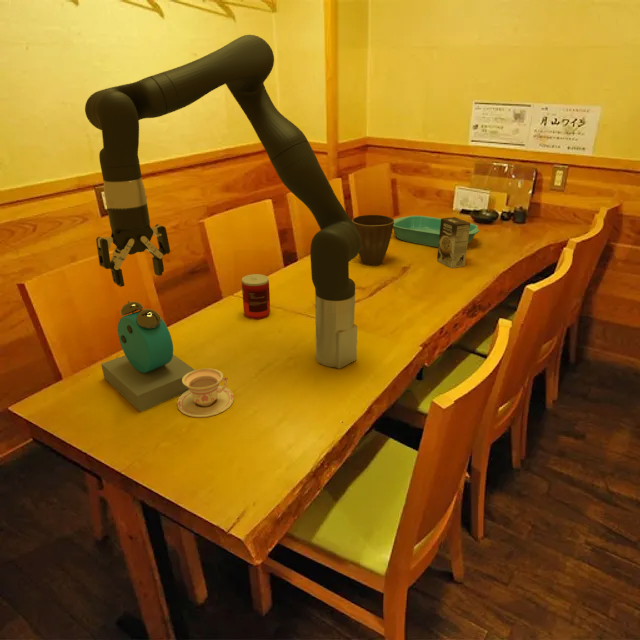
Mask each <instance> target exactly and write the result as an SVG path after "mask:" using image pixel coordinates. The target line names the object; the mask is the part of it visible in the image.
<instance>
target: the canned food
mask: <svg viewBox="0 0 640 640" xmlns="http://www.w3.org/2000/svg"><path fill="white" fill-rule="evenodd" d="M241 293H242V302H243V304H242V305H243V314H244V316H245V317H246V318H248V319H252V320H261V319H265V318H267V317H269V316H270V314H271V296H270V294H271V293H270V280H269V276H267V275H265V274H260V273H256V274H255V273H252V274H247V275H244V276H243V277H242V278H241Z"/></svg>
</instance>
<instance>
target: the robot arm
mask: <svg viewBox="0 0 640 640" xmlns="http://www.w3.org/2000/svg"><path fill="white" fill-rule="evenodd" d="M274 55H275V54H274V51H273V49H272V47H271V45H270V44H269V43H268V42H267V41H266V40H265V39H263V38H262V37H260V36H257V35H255V34H245V35H242V36H239V37H237V38H236V39H234V40H232V41H230V42H228V43H227V44H226V45H224V46H222V47H221V48H218V49H217V50H215V51H213V52H210V53H208V54H207V55H204V56H203V57H200V58H197V59H196V60H193V61H191V62H188V63H184V64H183V65H181V66H178V67H175V68H171V69H168V70H165V71H162V72H159V73H156V74H153V75H150V76H147V77H144V78H142V79H139V80H137V81H134V82H130V83H126V84H121V85H118V86H113V87H108V88H105V89H100V90H97V91H96V92H94V93H93V92H92V94H90V96H88V98H87V100H86V102H85V106H84V111H85V117H86V118H87V120H88V121H89V123H90V124H91V125H92V126H93V127H94V128H96V129H98V130H100V131H101V135H102V146H103V147H102V148H101V150H100V151H99V154H98V155H99V164H100V169H101V174H102V175H101V176H102V181H103V193H104V199H105V204H106V210H107V215H108V216H107V217H108V220H109V226H110V229H111V230H110V231H111V234H110V236H105V237H102V236H97V237H96V240H95V241H96V242H95V243H96V249H97V256H98V263H99V266H100V267H101V268H104V269H106V270H110V272H111V277H112V281H113V283H114V284H116V285H117V286H118V287H120V288H122V287H125V280H124V276H123V270H122V269H121V266H122V264H123V262H124V261H125V260H126V259H127V257H128V255H135V254H136V253H144V252H145V251H147V252H148V253H149V254H151V256H152V257H151V259H152V266H153V272H154V275H156V276H158V277H161V276H163V273H164V272H165V267H164V261H163V258H164V256H165V255H169V254H170V253H171V247H170V244H169V243H170V242H169V239H168V232H167V228H166V226H163V225H161V224H155V226H153V227H151V221H150V220H151V219H150V213H149V207H148V202H147V201H148V199H147V195H146V194H147V193H146V189H145V185H144V182H143V177H142V176H143V175H142V169H141V164H140V159H139V146H140V145H139V143H140V142H139V141H140V120H143V119H155V118H159V117H163V116H165V115H169V114H171V113H174V112H177V111H179V110H181V109H183V108H186V107H188V106H190V105H192V104H193V103H195V102H197V101H198V100H200V99H202V98H203V97H204V96H206V95H208V94H209V93H211V92H212V91H214V90H216V89H218V88H219V87H222V86H225V85H226V87H227V89H228V90H229V91H230V93H231V95H232V97H233V98H234V99H235V101H236V102H237V104H238V106H239V107H240V108H241V110H242V111H243V113H244V115H245V116H246V118H247V119H248V121H249V123H250V125H251V126H252V128H253V129H254V132H255V134H256V136H257V138H258V139H259V141H260V143H261V145H262V147H263V148H264V150H265V153H266V154H267V157H268V158H269V161H270V163H271V165H272V166H273V168H274V170H275V172H276V174H277V175H278V177H279V180H280V181H281V182H282V184H283V185H284V186H285V187H286V189H288V191H289V192H291V193H292V194H293V195H294V196H295V197H296V198H298V199H299V200H300V202H302V203H303V204H304V205H305V206H306V207H307V209H308V210H309V211H310V212H311V214H312V215H313V217H314V219H315V221H316V223H317V225H318V227H319V229H320V230H319V231H317V232H316V233H315V234H314V235H313V237H312V240H311V243H310V249H309V250H310V252H309V254H310V257H309V258H310V269H311V270H310V271H311V272H310V274H311V280H312V284H313V286H314V290H315V292H314V293H315V294H314V295H315V298H314V299H315V305H314V307H315V359H316V361H317V362H318V363H319V364H321V365H322V366H325V367H329V368H330V367H331V368H337V369H339V370H340V369H342V368H344V367H345V366H348V365H350V364H351V362H352V363H353V361H354V362H356V361H357V358H358V357H357V353H358V351H357V350H358V349H357V345H358V325H357V324H355V311H356V310H355V307H356V284H355V281H354V280H353V279H351V278H350V274H349V270H350V269H349V267H350V266H349V265H350V264H349V262H351V261H352V260H353V259H355V258H356V257H357V256H358V255H359V252H360V249H361V238H360V235H359V232H358V230H357V228H356V227H355V225H354V224H353V222H352V219H351V217H350V216H349V214H348V213H347V211H346V210H345V209H344V207H343V205H342V204H341V201H340V200H339V199H338V197H337V195H336V194H335V192H334V190H333V187H332V186H331V184H330V181H329V180H328V178H327V176H326V174H325V171H323V168H322V167H321V164H320V162H319V161H318V158H317V156H316V154H315V152H314V150H313V147H312V146H311V143H310V142H309V141H308V139H307V137H306V136H305V134H304V132H303V130H301V129H300V128H299V127H298V126H296V125H295V124H294V123H293V122H292V121H290V120H289V119H288V118H287V117H285V116H284V115H283V114H282V113H281V112H280V111H279V110H278V109H277V108H276V106H275V105H274V103H273V101H272V99H271V97H270V95H269V93H268V91H267V89H266V87H265V84H264V82H265V81H266V80H267V79H268V77H269V76H270V74H271V72H272V70H273V68H274V65H275V56H274ZM153 236H155V237H156V240H157V244H158V248H157V246H155V245H154V244H153V243H152V242H151V241H152V238H153ZM112 244H113V245H115V247H114V249H113V251H112V256H111V255H110V248H111V245H112ZM110 257H111V258H110ZM355 360H356V361H355ZM349 363H350V364H349Z"/></svg>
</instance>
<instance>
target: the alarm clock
mask: <svg viewBox="0 0 640 640" xmlns="http://www.w3.org/2000/svg"><path fill="white" fill-rule="evenodd" d="M119 312H120V316H121V317H120V318H119V320H118V323H117V336H118V340H119V344H120V346H121V347H120V348H121V349H122V351H123V353H124V355H126V357H127V359H128V360H129V362H130V363H131V365H132V366H133V367H134V368H135V369H136V370H138V371H139V372H142V373H147V372H150V371H152V370H154V369H156V368H159V367H161V366H164V367H165V369H167V367H166V364H168V363H169V362H170V361H171V360H172V357H173V355H174V342H173V339H172V336H171V332H170V331H169V328H168V326H167V323H165V321H164V319H163V318H162V316H160V314H159V312H157V311H156V310H154V309H152V308H144V306H143V304H142V303H140V302H138V301H130V300H129V301H127V303H125V304H124V305H122V306H121V309H120V311H119Z"/></svg>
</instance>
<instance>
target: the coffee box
mask: <svg viewBox="0 0 640 640" xmlns="http://www.w3.org/2000/svg"><path fill="white" fill-rule="evenodd" d="M440 219H441V225H440V235H439V245H438V247H437V257H436V261H437V262H438V263H440V264H442V265H444V266H446V267H449V268H451V269H454V268H460V267H466V259H467V251H468V244H469V243H468V238H469V231H470V223H471V222H468V221H467V220H464V219H462V218H458V217H455V216H453V217H443V218H440Z"/></svg>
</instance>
